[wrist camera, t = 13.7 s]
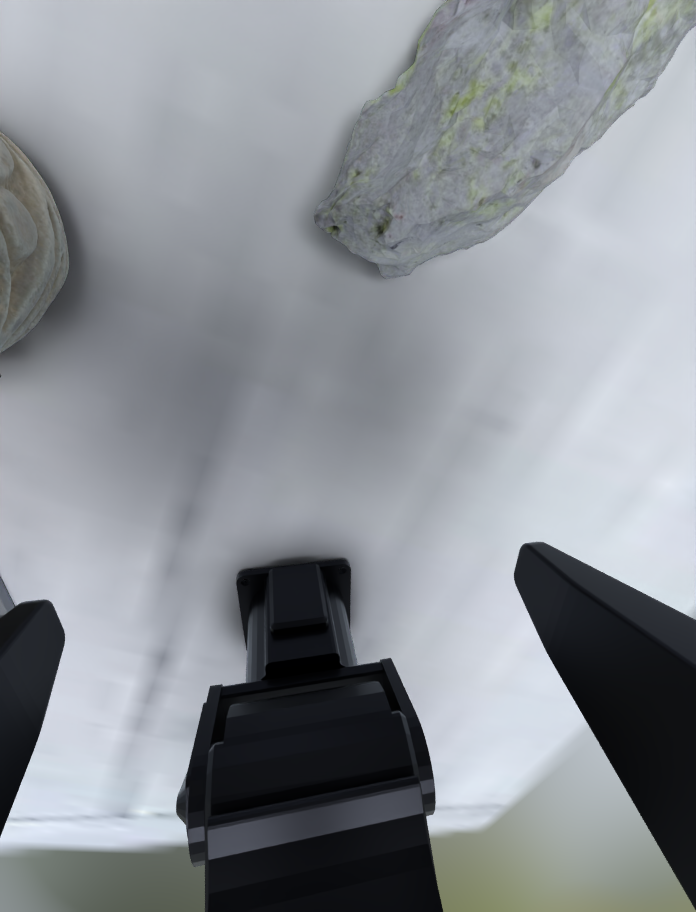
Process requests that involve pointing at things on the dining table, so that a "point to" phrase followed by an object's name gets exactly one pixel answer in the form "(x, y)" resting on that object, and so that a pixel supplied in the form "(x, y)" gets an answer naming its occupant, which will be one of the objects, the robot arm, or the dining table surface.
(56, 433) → the dining table surface
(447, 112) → the rock
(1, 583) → the grey bracket bar
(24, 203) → the carving
